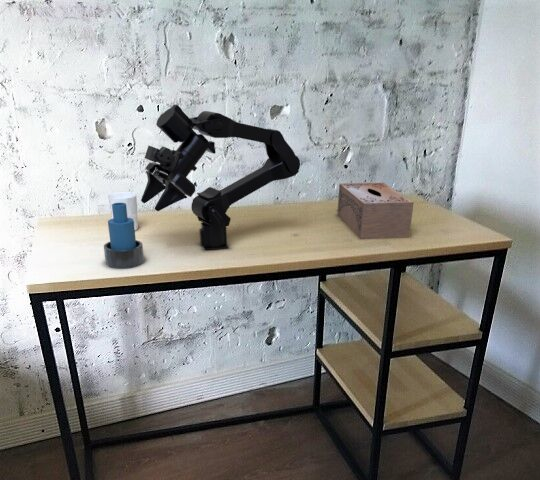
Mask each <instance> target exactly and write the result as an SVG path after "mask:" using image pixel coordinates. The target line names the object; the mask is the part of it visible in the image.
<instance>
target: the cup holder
mask: <svg viewBox="0 0 540 480" xmlns="http://www.w3.org/2000/svg"><path fill="white" fill-rule="evenodd" d="M103 252H104V260H105V265H106V266H107V267H109V268H112V269H119V270H120V269H132V268H136V267H139V266H142V265H143V264H144V263H145V256H144V245H143V242H142V241H140V240H138V239H136V248H133V249H128V250H112V249H111V243H110V241H108V242H106V243H104V245H103Z"/></svg>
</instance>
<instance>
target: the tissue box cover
mask: <svg viewBox="0 0 540 480" xmlns="http://www.w3.org/2000/svg"><path fill="white" fill-rule="evenodd" d="M413 210H414V201H413V200H411V199H410V198H408V197H406V196H405V195H403V194H401V193H400V192H398V191H397V190H395V189H394V188H392V187H391V186H389V185H387V184H386V183H385V182H352V183H350V182H349V183H348V182H347V183H339V186H338V200H337V214H336V215H337V216H338V217H339V218H340V219H341V221H343V223H345V224H346V225H347V226H348V227H349V229H351V230H352V231H353V233H355V235H356V236H358V238H360V240H364V239H392V238H394V239H395V238H410V235H411V227H412V221H413V219H412V218H413Z"/></svg>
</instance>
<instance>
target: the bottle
mask: <svg viewBox="0 0 540 480" xmlns="http://www.w3.org/2000/svg"><path fill="white" fill-rule="evenodd" d="M112 210H113V219H112V218H111V219H108V220H107V226H108V235H109V242H110V243H111V249H112V250H128V249H133V248H136V240H137V238H136V230H135V229H134V220H133V219H132V218H128V217H127V208H126V203H114V204H112Z"/></svg>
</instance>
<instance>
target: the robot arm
mask: <svg viewBox="0 0 540 480" xmlns="http://www.w3.org/2000/svg"><path fill="white" fill-rule="evenodd" d="M156 127H157V128H158V129H159V130H160V131H161V132H163V133H164V134H165V136H166V137H168V138H169V139H170V140H171V141H172V142H173V143H180V144H179V146H178V147H177V148H176V150H175V149H171V148H168V147H166V146H161V147H160V148H156V147H155V146H152V145H149V144H148V146H147V148H146V152H145V155H144V159H145V160H148V161H151V162H148V163H147V165H146V167H145V170H146V171H145V174H146V177H147V182H146V185H145V189H144V191H143V194H142V196H141V199H140V202H142V204H146V203H148V202H149V201H151V200H152V199H153V198H155V197H156V196H157V195H159V194H160V193H161V192H162V193H161V195H160V197H159V199H158V201H157V202H156V204H155V206H154V210H155V211H156V212H160V211H162V210H164V209H166V208H167V207H170V206H171V205H173V204H175V203H177V202H181V201H182V200H184V199H188V197H189V198H192V196H193V195H194V194H195V193H196V196H194V198H192V201H191V208H190V209H191V212H192V213H193V215H195V216H196V218H197V220H198V221H199V222H200V228H199V229H198V230H199V232H198V233H199V244H200V246H201V247H202V248H203V249H204V250H205V251H210V250H224V249H229V245H228V240H227V239H228V236H227V232H228V231H227V227H229V226H230V223H231V217H230V216H229V215H228V214H227V212H228V210H229V208H230V207H231V206H232V205H233V204H235V203H237V202H239V201H240V200H242V199H244V198H245V197H247V196H249V195H251V194H253V193H254V192H256V191H259V189H262V188H263V187H266V185H268V184H270V183H272V182H275V181H280V180H287V179H289V178H293V177H295V176H296V175H297V174H298V173H299V172H300V169H301V161H300V158H299V157H298V156H297V155H296V153H295V152H294V150H293V148H292V147H291V145H289V144H288V142H287V141H286V140H285V138H284V136H283V133H282V132H281V131H280V130H277V129H273V128H265V127H259V126H257V125H256V126H255V125H251V124H246V123H242V122H238V121H236V120H234V119H232V118H230V117H228V116H226V115H224V114H221V113H219V112H214V111H210V110H203V111H201V112H200V113H199V114H198V116H194V117H189V116H188V115H187V114H186V113H185V112H184V111H183V109H182V108H181V106H180V105H178V104H173V105H172V106H171V107H170V108H168V109H166V110H165V111H164V112H163V113H162V112H161V114H160V115H159V117H158V118H157V120H156ZM195 130H196V131H198V133H197V132H196V131H195ZM205 136H206V137H210V138H214V139H228V138H237V139H243V140H247V141H253V142H257V143H263V144H264V146H265V151H266V152H265V153H266V156H267V157H268V158H267V159H266V160H265V162H264V163H263V165H262V166H261V167H259V168H257V169H256V170H254V171H252V172H250V173H249V174H247V175H245V176H243V177H241V178H240V179H237V180H236V181H234V182H232V183H230V184H229V185H227V186H225V187H223V188H222V189H217V188H215V187H212V186H209V187H207V188H205V189H204V190H202V191H201V192H196V185H195V184H194V183H193V182H192V181H191V180H190V179H189V178H188V176H189V175H190V173H191V172H192V171H193V172H196V170H197V169H198V167H197V166H196V165H197V164H198V163H199V162H200V160H201V159H202V157H203V156H204V155H205V154H206V152H207V153H211V154H212V155H213V154H215V155H216V147H215V145H216V142H215V141H213V140H208V139H207V138H206V137H205Z"/></svg>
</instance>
